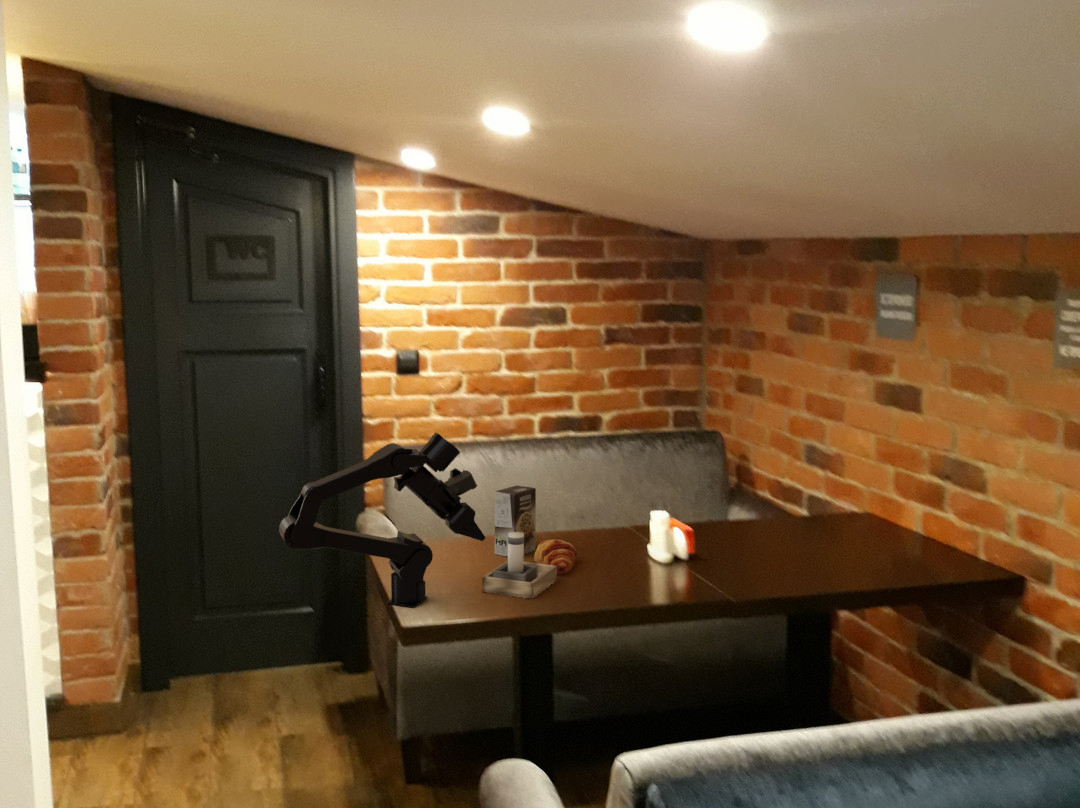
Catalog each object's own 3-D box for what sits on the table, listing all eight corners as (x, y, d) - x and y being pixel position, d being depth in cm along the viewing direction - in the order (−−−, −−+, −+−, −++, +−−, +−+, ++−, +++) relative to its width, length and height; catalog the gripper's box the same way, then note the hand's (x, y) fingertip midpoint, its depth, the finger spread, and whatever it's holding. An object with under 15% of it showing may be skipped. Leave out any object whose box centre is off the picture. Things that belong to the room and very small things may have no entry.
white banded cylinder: (510, 589, 236) (510, 536, 234) (505, 584, 239) (505, 532, 237) (525, 587, 237) (526, 535, 235) (520, 583, 240) (521, 531, 238)
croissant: (536, 566, 267) (521, 539, 265) (571, 546, 268) (556, 519, 266) (552, 591, 246) (536, 562, 245) (590, 570, 247) (574, 541, 246)
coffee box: (514, 558, 261) (514, 494, 259) (493, 554, 265) (493, 490, 263) (536, 550, 268) (536, 487, 266) (516, 546, 272) (516, 484, 270)
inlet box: (482, 592, 236) (482, 571, 235) (508, 574, 249) (508, 554, 248) (532, 599, 232) (532, 578, 231) (556, 580, 244) (556, 560, 244)
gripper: (465, 468, 220) (516, 516, 225) (443, 452, 238) (491, 496, 243) (428, 509, 219) (480, 556, 224) (408, 489, 236) (457, 533, 241)
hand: (478, 533), depth 233 cm, fingers open, 9 cm apart
